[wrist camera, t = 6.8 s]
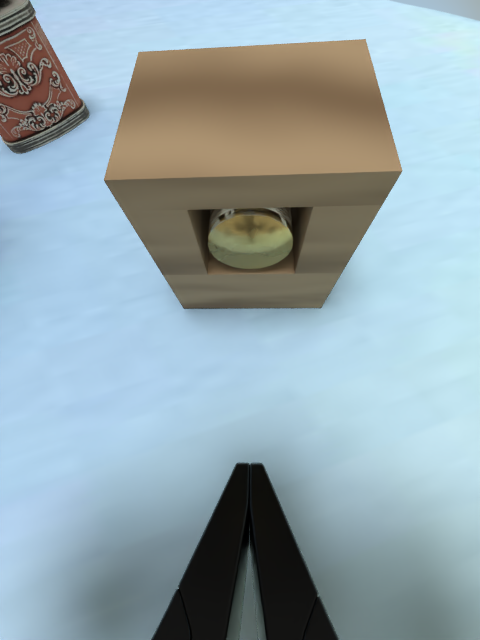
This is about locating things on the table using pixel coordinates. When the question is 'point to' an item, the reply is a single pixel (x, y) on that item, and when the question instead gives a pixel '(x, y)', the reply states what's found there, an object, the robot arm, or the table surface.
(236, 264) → the silver and gold cylinder
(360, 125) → the walnut block
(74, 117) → the lighter
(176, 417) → the table surface
